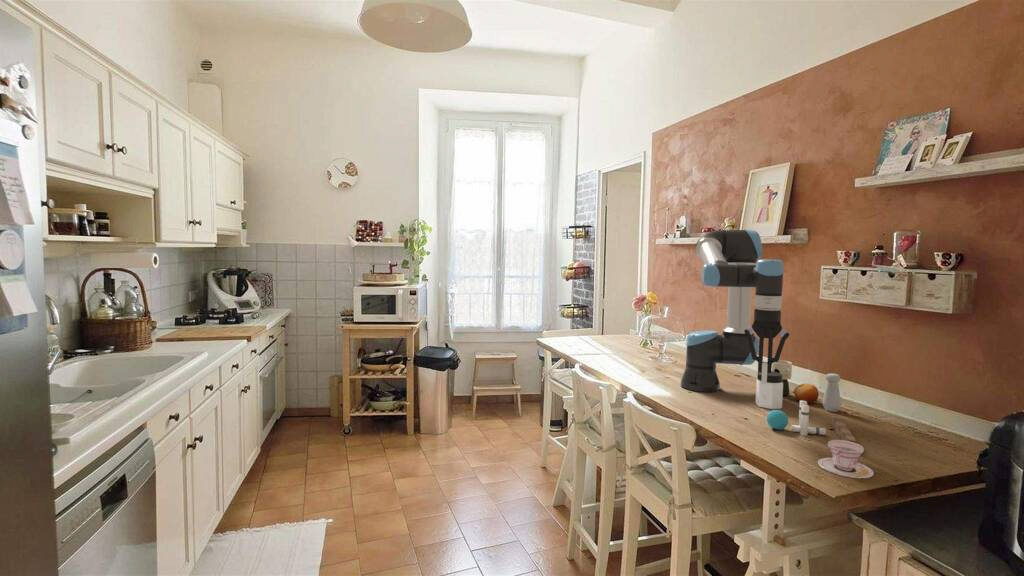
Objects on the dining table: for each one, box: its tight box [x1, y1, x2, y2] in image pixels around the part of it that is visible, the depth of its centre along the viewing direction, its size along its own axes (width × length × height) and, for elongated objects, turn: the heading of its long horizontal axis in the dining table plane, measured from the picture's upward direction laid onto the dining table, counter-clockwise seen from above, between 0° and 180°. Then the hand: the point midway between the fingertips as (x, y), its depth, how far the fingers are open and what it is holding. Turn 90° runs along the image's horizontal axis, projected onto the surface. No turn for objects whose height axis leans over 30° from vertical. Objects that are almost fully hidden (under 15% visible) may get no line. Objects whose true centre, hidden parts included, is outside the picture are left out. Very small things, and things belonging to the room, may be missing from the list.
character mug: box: [771, 359, 793, 396], centre depth 197 cm, size 11×7×13 cm, turn 3°
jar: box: [755, 370, 784, 410], centre depth 182 cm, size 9×8×12 cm
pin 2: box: [799, 404, 810, 437], centre depth 153 cm, size 2×2×9 cm
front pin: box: [790, 424, 827, 436], centre depth 154 cm, size 2×2×9 cm
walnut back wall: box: [831, 415, 858, 444], centre depth 151 cm, size 24×2×3 cm, turn 157°
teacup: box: [817, 439, 875, 480], centre depth 129 cm, size 12×12×6 cm
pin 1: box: [798, 400, 808, 426], centre depth 157 cm, size 2×2×9 cm
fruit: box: [793, 383, 820, 405], centre depth 188 cm, size 8×8×8 cm
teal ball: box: [766, 409, 789, 431], centre depth 158 cm, size 6×6×6 cm
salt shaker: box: [821, 373, 842, 413], centre depth 178 cm, size 6×6×13 cm
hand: (764, 382), depth 159 cm, fingers closed
